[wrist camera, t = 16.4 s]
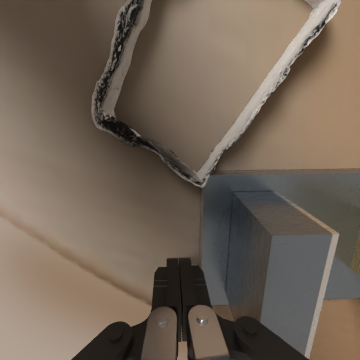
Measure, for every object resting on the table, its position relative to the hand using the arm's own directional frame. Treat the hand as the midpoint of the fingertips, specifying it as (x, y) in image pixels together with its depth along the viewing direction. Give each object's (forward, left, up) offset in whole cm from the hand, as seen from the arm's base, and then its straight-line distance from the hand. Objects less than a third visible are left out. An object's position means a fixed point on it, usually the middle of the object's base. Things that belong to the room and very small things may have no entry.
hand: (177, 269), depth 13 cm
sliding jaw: (+5, 0, -2) cm, 6 cm away
